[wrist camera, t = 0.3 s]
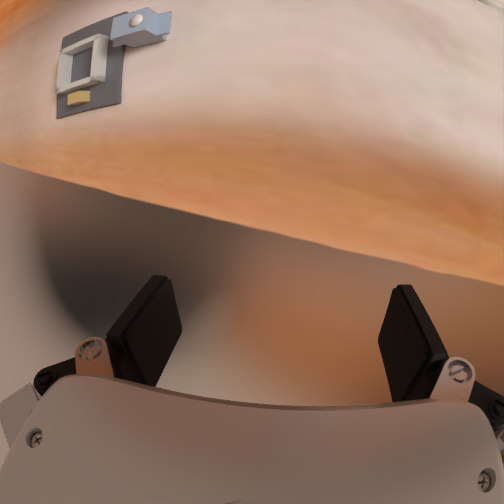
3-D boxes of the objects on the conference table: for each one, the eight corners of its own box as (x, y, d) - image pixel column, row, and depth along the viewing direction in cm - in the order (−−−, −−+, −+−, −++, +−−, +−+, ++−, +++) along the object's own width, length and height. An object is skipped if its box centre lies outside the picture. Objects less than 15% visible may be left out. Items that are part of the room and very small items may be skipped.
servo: (126, 31, 29) (101, 21, 23) (180, 18, 28) (159, 3, 22) (124, 50, 31) (98, 42, 25) (178, 38, 30) (156, 25, 23)
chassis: (66, 38, 29) (53, 36, 26) (129, 12, 27) (116, 6, 24) (60, 117, 37) (46, 119, 34) (121, 103, 36) (106, 102, 32)
